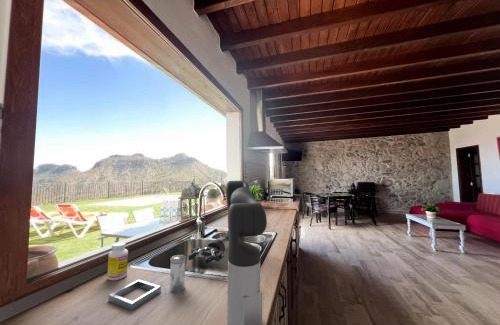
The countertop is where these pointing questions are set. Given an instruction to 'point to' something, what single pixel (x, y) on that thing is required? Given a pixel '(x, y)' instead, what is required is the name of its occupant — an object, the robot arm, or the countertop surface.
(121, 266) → the supplement bottle
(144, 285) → the collar
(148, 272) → the countertop surface
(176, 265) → the lidded metal canister
